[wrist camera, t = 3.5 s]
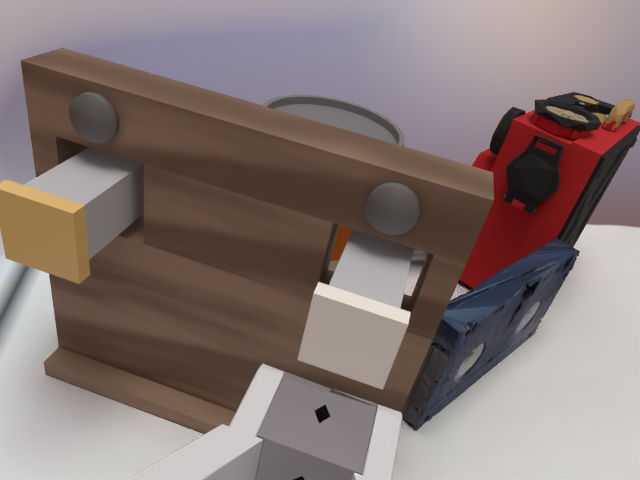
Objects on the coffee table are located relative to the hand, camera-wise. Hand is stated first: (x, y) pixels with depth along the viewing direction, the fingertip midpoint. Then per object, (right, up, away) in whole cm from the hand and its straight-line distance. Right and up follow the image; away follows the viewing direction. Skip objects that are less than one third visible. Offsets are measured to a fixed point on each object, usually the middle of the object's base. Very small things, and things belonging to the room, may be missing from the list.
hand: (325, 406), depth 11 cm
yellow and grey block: (-12, +4, +17) cm, 22 cm away
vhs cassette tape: (+12, -8, +33) cm, 36 cm away
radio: (+19, 0, +46) cm, 50 cm away
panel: (-7, -8, +26) cm, 28 cm away
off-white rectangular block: (+2, -1, +15) cm, 16 cm away
